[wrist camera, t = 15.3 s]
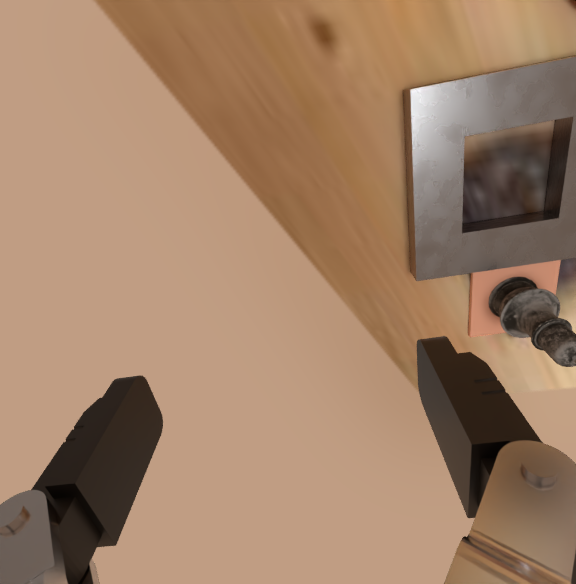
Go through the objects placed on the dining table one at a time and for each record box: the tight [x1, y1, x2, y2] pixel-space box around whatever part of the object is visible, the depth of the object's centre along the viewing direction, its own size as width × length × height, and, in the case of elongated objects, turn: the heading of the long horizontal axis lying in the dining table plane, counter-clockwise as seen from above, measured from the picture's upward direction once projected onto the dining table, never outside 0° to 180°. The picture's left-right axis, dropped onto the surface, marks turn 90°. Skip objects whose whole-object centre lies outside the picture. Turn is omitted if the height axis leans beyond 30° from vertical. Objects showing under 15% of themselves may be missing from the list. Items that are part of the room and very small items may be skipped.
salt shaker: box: [488, 277, 576, 367], centre depth 37 cm, size 6×6×12 cm
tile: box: [468, 260, 561, 337], centre depth 43 cm, size 9×9×1 cm
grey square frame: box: [403, 56, 576, 281], centre depth 36 cm, size 18×18×2 cm
